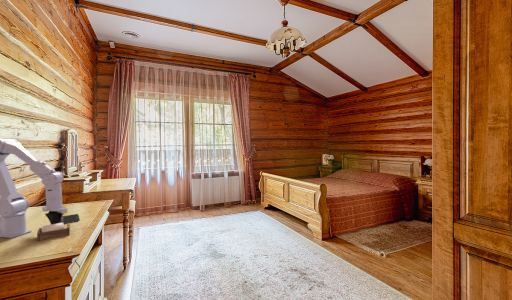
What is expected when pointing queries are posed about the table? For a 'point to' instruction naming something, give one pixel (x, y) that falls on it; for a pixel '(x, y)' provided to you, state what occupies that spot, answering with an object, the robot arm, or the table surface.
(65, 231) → the roll holder
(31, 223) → the table surface
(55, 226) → the paper roll
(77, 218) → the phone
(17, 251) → the table surface
